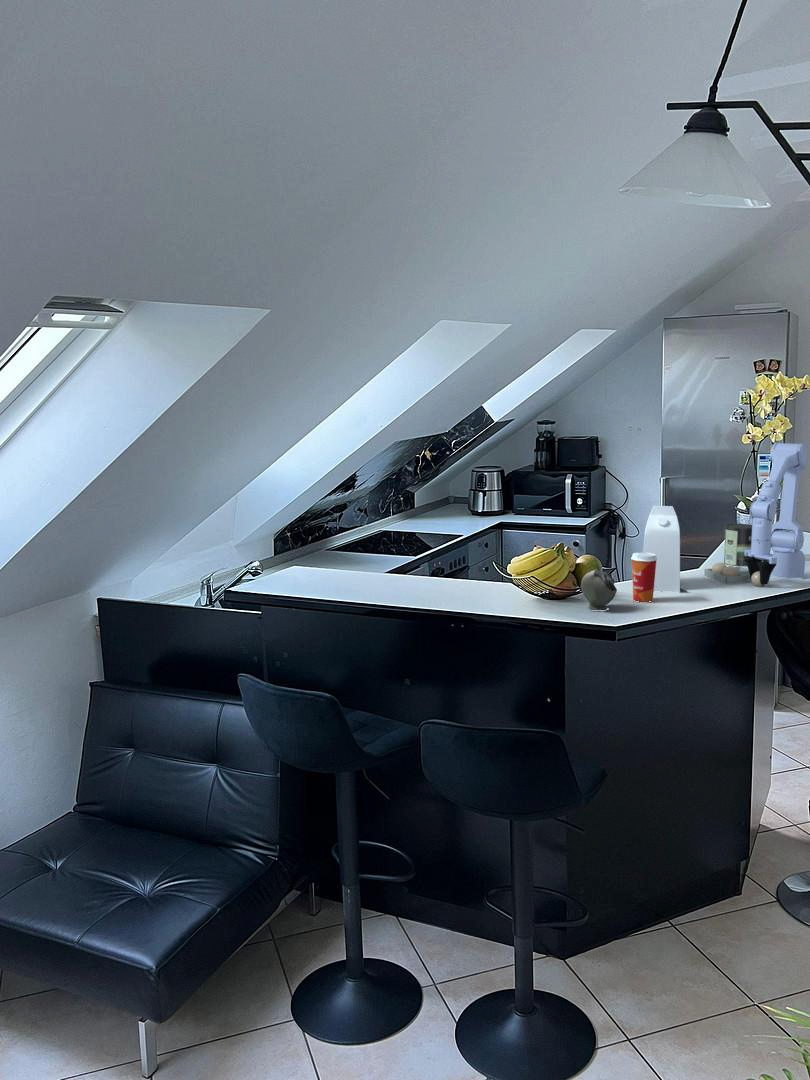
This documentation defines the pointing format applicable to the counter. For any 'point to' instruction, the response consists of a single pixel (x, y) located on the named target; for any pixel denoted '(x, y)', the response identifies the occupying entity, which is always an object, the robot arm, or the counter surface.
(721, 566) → the egg
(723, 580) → the carton
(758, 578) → the egg
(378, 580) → the counter surface
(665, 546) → the milk
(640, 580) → the paper cup
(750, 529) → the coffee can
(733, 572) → the egg
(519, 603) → the counter surface
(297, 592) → the counter surface
